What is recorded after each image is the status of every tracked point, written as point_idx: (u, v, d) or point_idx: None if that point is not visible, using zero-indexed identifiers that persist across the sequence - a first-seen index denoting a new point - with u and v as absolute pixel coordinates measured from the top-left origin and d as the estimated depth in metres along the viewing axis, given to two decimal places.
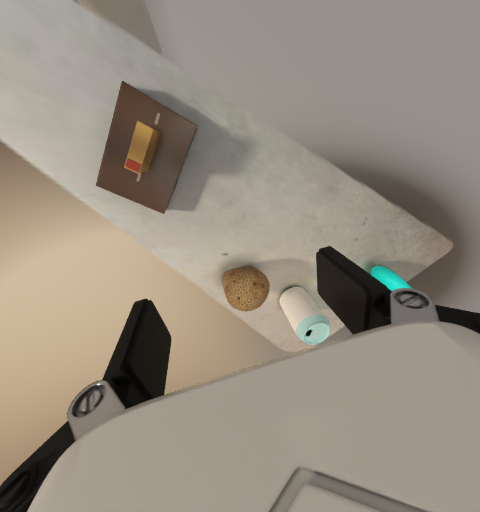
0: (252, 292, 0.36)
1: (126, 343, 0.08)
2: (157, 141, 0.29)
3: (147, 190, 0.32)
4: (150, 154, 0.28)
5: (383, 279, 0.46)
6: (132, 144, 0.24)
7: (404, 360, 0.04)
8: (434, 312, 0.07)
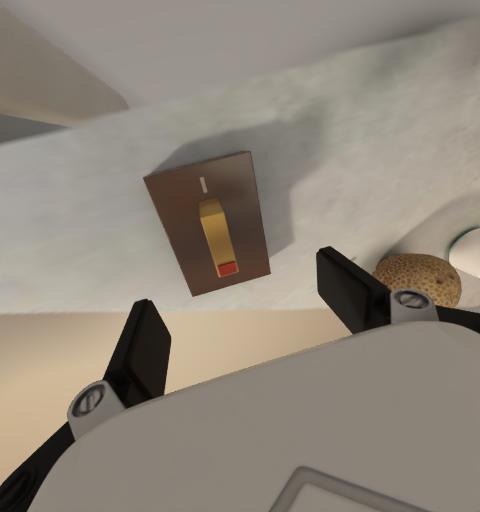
0: (444, 294, 0.24)
1: (126, 343, 0.08)
2: None
3: (241, 265, 0.24)
4: None
5: None
6: (212, 248, 0.17)
7: (404, 360, 0.04)
8: (434, 312, 0.07)
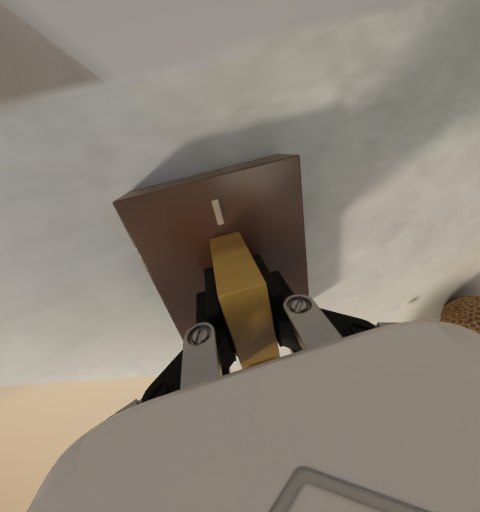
0: None
1: (214, 296, 0.09)
2: None
3: None
4: None
5: None
6: (238, 343, 0.09)
7: (404, 360, 0.04)
8: (317, 308, 0.08)
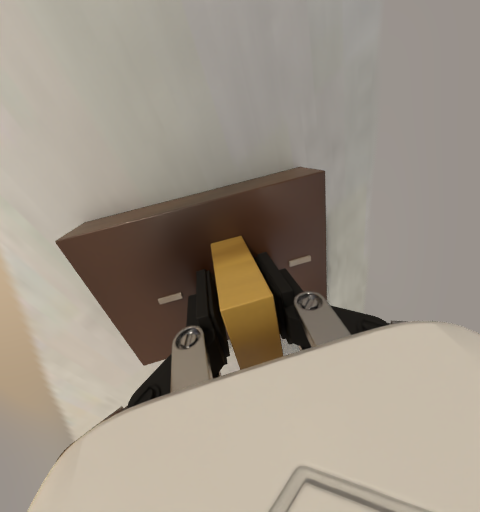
0: None
1: (204, 299, 0.09)
2: None
3: (158, 322, 0.13)
4: None
5: None
6: (242, 359, 0.08)
7: (404, 360, 0.04)
8: (328, 306, 0.08)
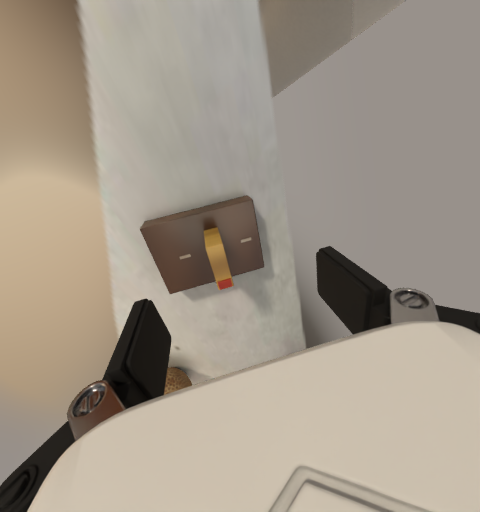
0: None
1: (126, 343, 0.08)
2: None
3: (178, 269, 0.28)
4: None
5: None
6: (213, 268, 0.22)
7: (404, 360, 0.04)
8: (434, 312, 0.07)
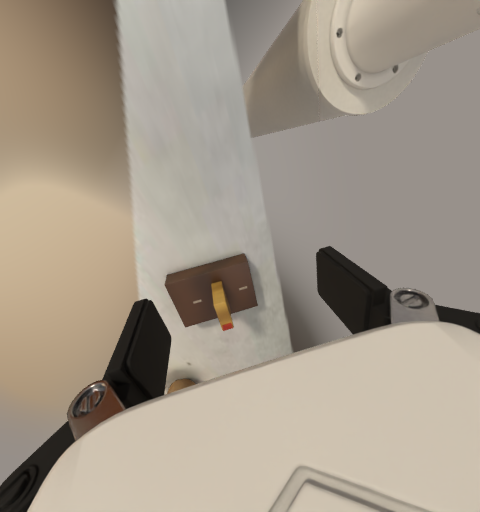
0: None
1: (126, 343, 0.08)
2: (223, 287, 0.35)
3: (192, 310, 0.37)
4: (227, 303, 0.34)
5: None
6: (219, 317, 0.31)
7: (404, 360, 0.04)
8: (434, 312, 0.07)
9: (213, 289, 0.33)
